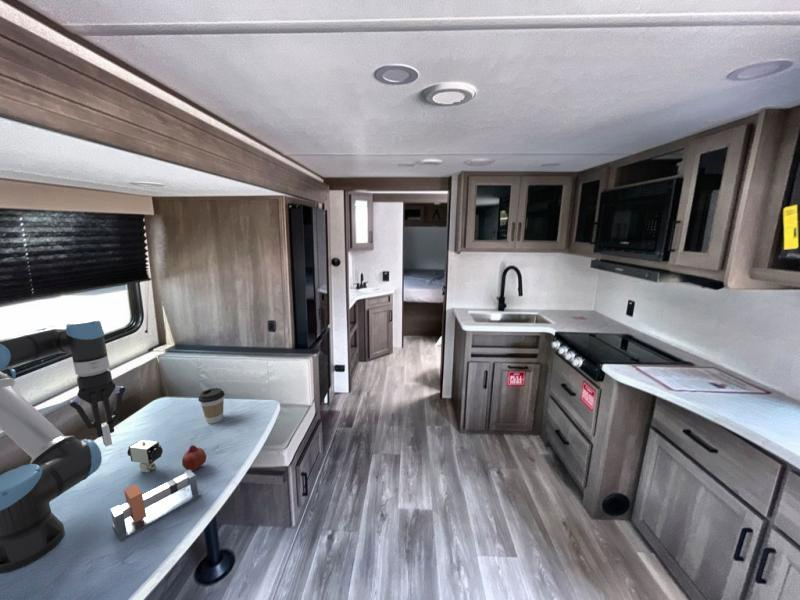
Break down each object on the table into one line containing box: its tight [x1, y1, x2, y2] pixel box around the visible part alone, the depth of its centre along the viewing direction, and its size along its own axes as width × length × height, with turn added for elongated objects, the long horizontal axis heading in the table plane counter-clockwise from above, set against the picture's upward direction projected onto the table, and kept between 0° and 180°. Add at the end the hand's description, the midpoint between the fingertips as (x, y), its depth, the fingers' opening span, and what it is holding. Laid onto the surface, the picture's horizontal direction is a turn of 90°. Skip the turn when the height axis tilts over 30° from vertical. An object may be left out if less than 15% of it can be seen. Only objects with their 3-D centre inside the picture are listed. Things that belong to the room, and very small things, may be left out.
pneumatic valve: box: [127, 439, 164, 473], centre depth 129 cm, size 6×12×12 cm, turn 78°
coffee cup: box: [198, 387, 226, 425], centre depth 164 cm, size 11×11×15 cm
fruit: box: [181, 444, 207, 472], centre depth 129 cm, size 8×8×10 cm
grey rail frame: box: [110, 470, 202, 543], centre depth 109 cm, size 22×9×8 cm, turn 142°
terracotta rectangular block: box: [123, 483, 146, 523], centre depth 104 cm, size 3×6×8 cm, turn 52°
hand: (107, 443), depth 103 cm, fingers closed
